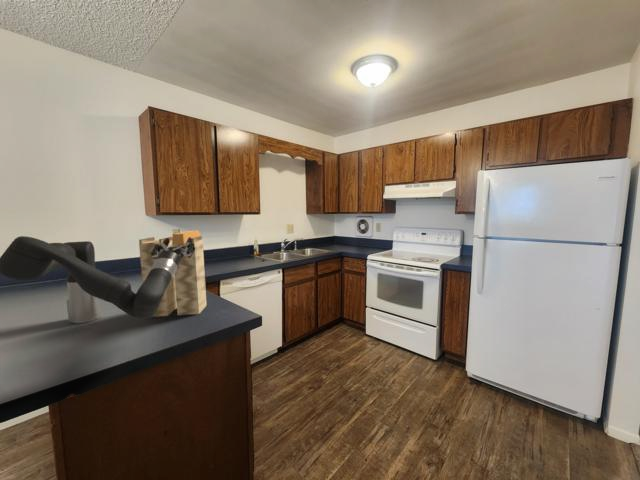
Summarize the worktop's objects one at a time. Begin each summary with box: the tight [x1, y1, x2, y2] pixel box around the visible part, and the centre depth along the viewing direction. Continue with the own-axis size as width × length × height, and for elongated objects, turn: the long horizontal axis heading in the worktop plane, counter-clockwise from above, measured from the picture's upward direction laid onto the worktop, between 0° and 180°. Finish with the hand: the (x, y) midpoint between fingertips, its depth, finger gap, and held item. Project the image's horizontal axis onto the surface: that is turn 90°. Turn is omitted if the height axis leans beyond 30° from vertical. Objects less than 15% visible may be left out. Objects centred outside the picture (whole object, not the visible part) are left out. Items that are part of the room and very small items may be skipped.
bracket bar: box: [172, 229, 200, 244], centre depth 115 cm, size 4×20×4 cm, turn 7°
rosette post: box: [138, 236, 177, 318], centre depth 118 cm, size 9×11×34 cm
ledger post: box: [172, 235, 207, 316], centre depth 119 cm, size 9×11×34 cm
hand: (179, 239), depth 107 cm, fingers open, 8 cm apart
